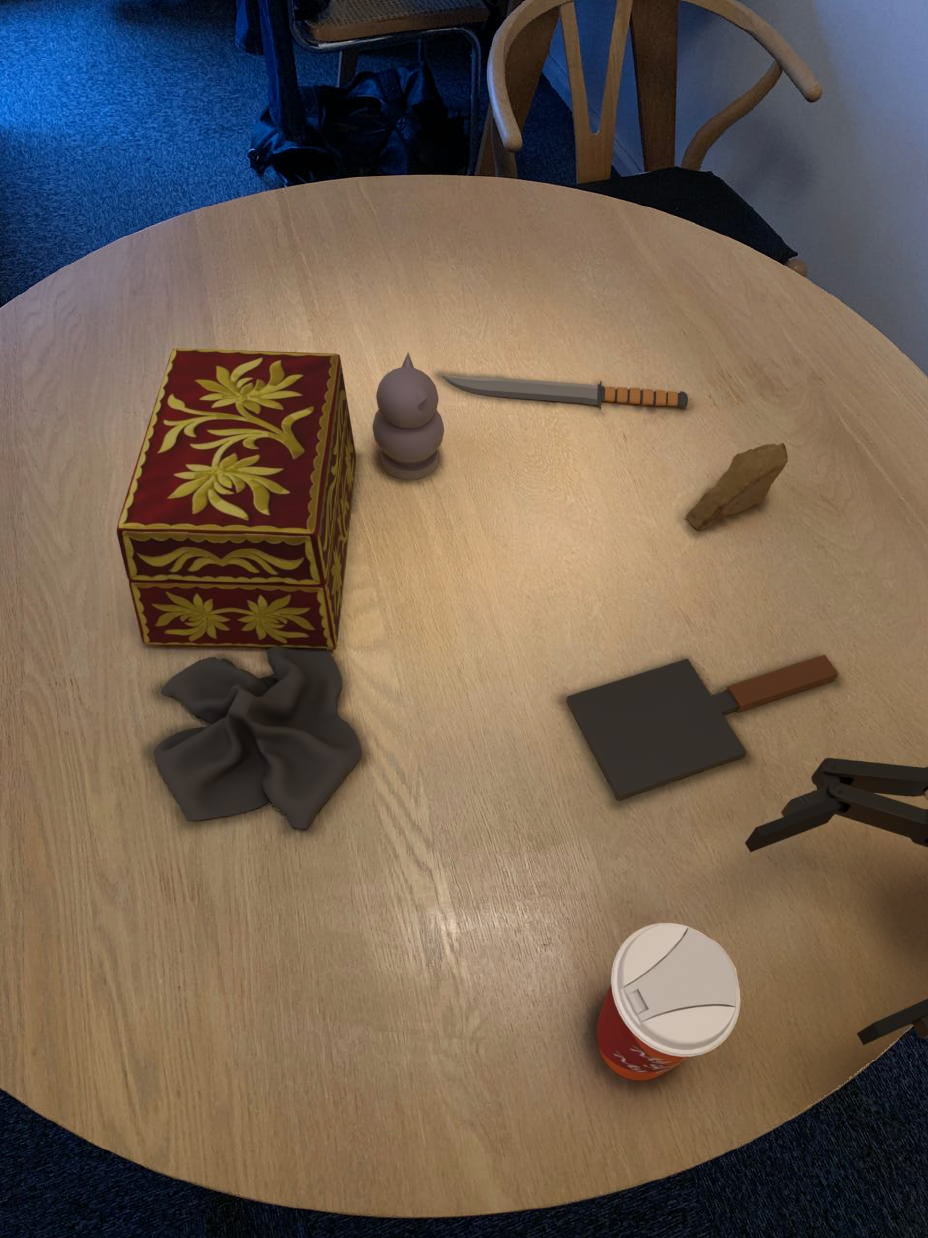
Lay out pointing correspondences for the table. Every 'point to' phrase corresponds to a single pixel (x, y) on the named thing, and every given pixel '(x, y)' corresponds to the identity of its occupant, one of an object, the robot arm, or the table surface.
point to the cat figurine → (408, 422)
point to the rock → (740, 484)
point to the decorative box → (242, 502)
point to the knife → (566, 391)
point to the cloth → (259, 737)
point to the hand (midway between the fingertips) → (806, 931)
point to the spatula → (676, 720)
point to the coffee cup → (666, 1001)
